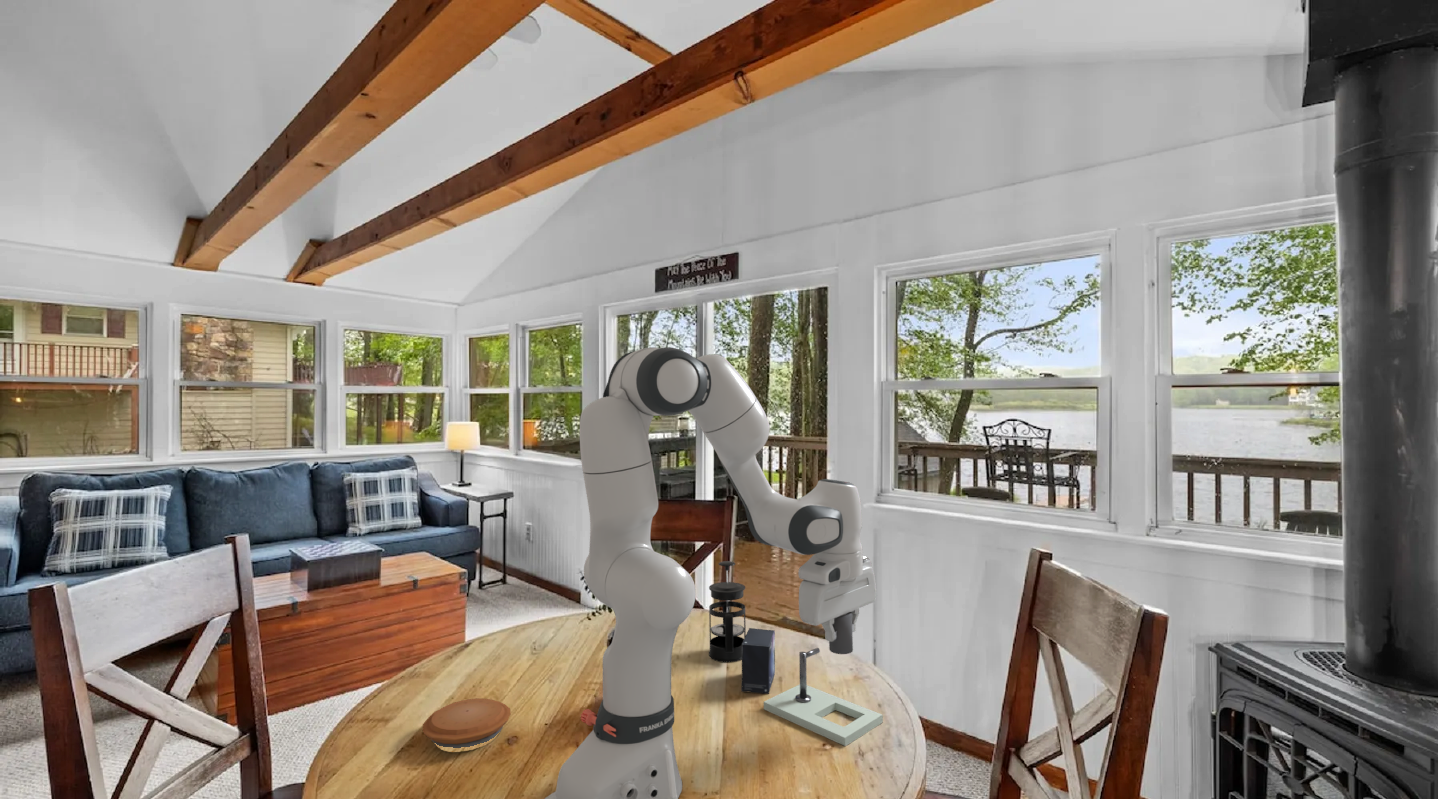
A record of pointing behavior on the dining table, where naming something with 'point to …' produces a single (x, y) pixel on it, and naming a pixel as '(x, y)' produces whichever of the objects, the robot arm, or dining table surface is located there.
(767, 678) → the small box
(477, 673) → the dining table surface
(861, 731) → the pale green board
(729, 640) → the french press
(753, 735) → the dining table surface
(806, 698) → the grey angled rod part
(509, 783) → the dining table surface
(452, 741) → the pie
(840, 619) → the grey cylinder with ball
